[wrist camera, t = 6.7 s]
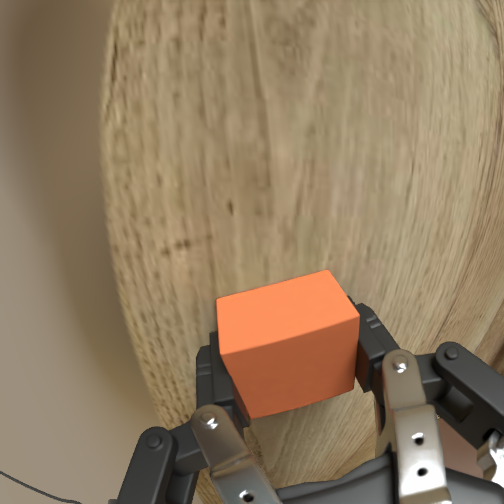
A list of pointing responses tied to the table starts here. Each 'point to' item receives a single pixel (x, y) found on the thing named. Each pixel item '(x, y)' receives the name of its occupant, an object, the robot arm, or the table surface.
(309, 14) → the table surface
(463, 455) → the brown holder box
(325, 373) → the block
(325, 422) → the table surface
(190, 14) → the table surface
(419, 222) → the table surface
